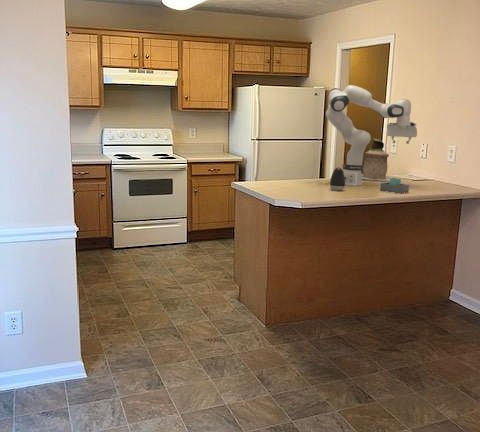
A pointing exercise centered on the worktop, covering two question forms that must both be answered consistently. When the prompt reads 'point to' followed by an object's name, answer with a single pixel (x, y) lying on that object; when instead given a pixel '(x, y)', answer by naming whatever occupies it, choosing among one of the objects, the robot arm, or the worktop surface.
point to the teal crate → (395, 181)
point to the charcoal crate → (394, 188)
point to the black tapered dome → (337, 180)
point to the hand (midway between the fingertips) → (400, 143)
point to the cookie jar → (375, 162)
